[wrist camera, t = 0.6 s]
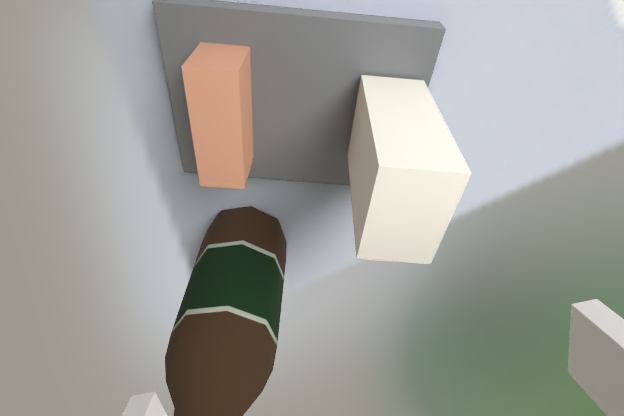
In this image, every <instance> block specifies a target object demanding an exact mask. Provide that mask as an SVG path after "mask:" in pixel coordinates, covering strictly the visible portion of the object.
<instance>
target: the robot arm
mask: <svg viewBox="0 0 624 416" xmlns="http://www.w3.org/2000/svg"><path fill="white" fill-rule="evenodd" d="M568 373H569V374H570V375H571V376H572V377H573V378H574V379H575V380H576V381H577V383H578V384H579V385H580V386H581V387H582V388H583V389H584V390H585V392H587V394H588V395H589V396H590V397H591V398H592V399H593V400H594V401H595V403H596V404H598V406H599V407H600V408H601V409H602V410H603V411H604V413H605V414H606V415H607V416H624V319H622V318H621V317H620V316H618V315H617V314H616V313H615V312H613V311H612V310H611V309H609V308H608V307H607V306H605V305H604V304H603V303H601V302H600V301H599V300H597V299H594V300H590V301H585V302H580V303H575V304H572V305H571V323H570V342H569V361H568ZM122 416H167V414H166V412H165V410H164V408H163V407H162V405H161V403H160V400H159V398H158V396H157V395H156V393H155V391H154V392H149V393H144V394H140V395H135V396H131V398H130V400H129V402H128V404H127V406H126V408H125V410H124V413H123V415H122Z"/></svg>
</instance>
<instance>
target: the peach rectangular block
mask: <svg viewBox="0 0 624 416" xmlns="http://www.w3.org/2000/svg"><path fill="white" fill-rule="evenodd" d="M181 68H182V74H183V81H184V87H185V93H186V100H187V106H188V113H189V119H190V125H191V132H192V138H193V145H194V151H195V157H196V164H197V170H198V177H199V183H200V186H206V187H219V188H232V189H245V187H246V183H247V179H248V175H249V172H250V168H251V164H252V160H253V127H252V95H251V63H250V47H248V46H237V45H226V44H215V43H204V42H200V43H199V45H198V46H197V47H196V49H195V50H194V51H193V52H192V54H191V55H190V56H189V57H188V59H187V60H186V61H185V63H184V64H183V65H182V66H181Z"/></svg>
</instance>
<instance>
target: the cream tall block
mask: <svg viewBox="0 0 624 416" xmlns="http://www.w3.org/2000/svg"><path fill="white" fill-rule="evenodd" d="M348 166H349V178H350V189H351V201H352V212H353V224H354V235H355V247H356V258H357V259H367V260H382V261H395V262H409V263H423V264H430V263H431V261H432V260H433V257H434V255H435V253H436V251H437V249H438V247H439V244H440V242H441V240H442V238H443V236H444V233H445V231H446V229H447V227H448V225H449V222H450V220H451V218H452V216H453V214H454V211H455V209H456V207H457V205H458V203H459V200H460V198H461V196H462V194H463V192H464V189H465V187H466V185H467V183H468V181H469V178H470V176H471V174H472V173H471V171H470V169H469V168H468V166H467V164H466V162H465V160H464V158H463V156H462V154H461V152H460V150H459V148H458V146H457V144H456V142H455V140H454V138H453V136H452V134H451V132H450V130H449V128H448V127H447V125H446V123H445V121H444V119H443V117H442V115H441V113H440V111H439V109H438V107H437V105H436V103H435V101H434V99H433V97H432V95H431V93H430V91H429V89H428V88H427V86H426V84H425V82H424V80H414V79H402V78H391V77H380V76H369V75H361V79H360V85H359V91H358V97H357V102H356V108H355V114H354V120H353V126H352V132H351V138H350V143H349V149H348Z"/></svg>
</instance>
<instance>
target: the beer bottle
mask: <svg viewBox="0 0 624 416" xmlns="http://www.w3.org/2000/svg"><path fill="white" fill-rule="evenodd" d="M285 263H286V240H285V237H284V234H283V232H282V229H281V226H280V223H279V221H278V219H276V218H274V217H272V216H270V215H268V214H266V213H264V212H262V211H259V210H257V209H255V208H253V207H244V208H236V209H229V210H222V211H221V212H220V213H219V214H218V216H217V217H216V219H215V220H214V222H213V223H212V225H211V226H210V228H209V229H208V231H207V233H206V235H205V238H204V240H203V242H202V245H201V248H200V251H199V253H198V256H197V259H196V262H195V265H194V268H193V271H192V274H191V277H190V280H189V283H188V286H187V289H186V292H185V295H184V297H183V300H182V303H181V307H180V310H179V312H178V315H177V318H176V321H175V324H174V327H173V330H172V333H171V337H170V341H169V344H168V349H167V353H166V356H165V367H166V383H167V386H168V389H169V392H170V395H171V398H172V401H173V404H174V408H175V410H174V416H243V415H244V413H245V412H246V411H247V410H248V408H249V407H250V406H251V404H252V403H253V402H254V401H255V400H256V399H257V397H258V396H259V395H260V394H261V392H262V391H263V389H264V386H265V385H266V383H267V380H268V378H269V376H270V374H271V372H272V370H273V365H274V359H275V353H276V349H277V341H278V332H279V322H280V312H281V302H282V292H283V282H284V273H285Z"/></svg>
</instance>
